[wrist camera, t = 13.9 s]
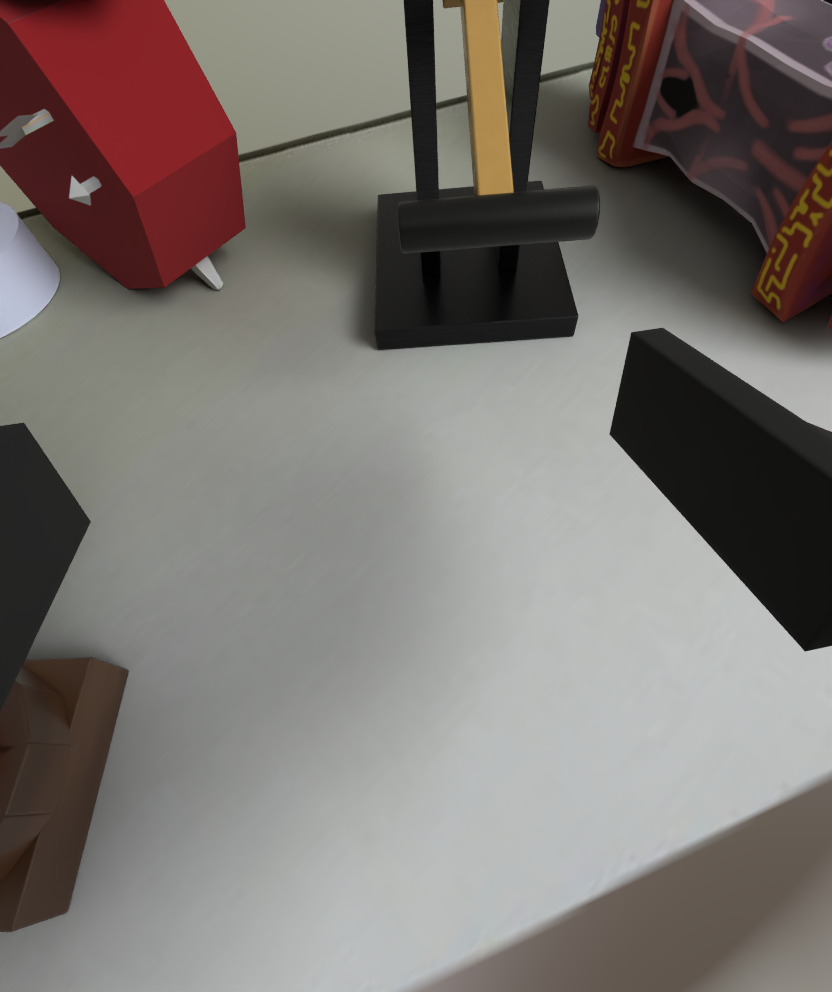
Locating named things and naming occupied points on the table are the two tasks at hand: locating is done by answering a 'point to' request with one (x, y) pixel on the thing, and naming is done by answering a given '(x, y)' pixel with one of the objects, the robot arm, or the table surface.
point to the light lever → (493, 168)
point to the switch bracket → (477, 271)
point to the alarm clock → (118, 136)
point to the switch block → (51, 780)
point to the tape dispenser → (22, 273)
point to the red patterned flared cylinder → (730, 119)
